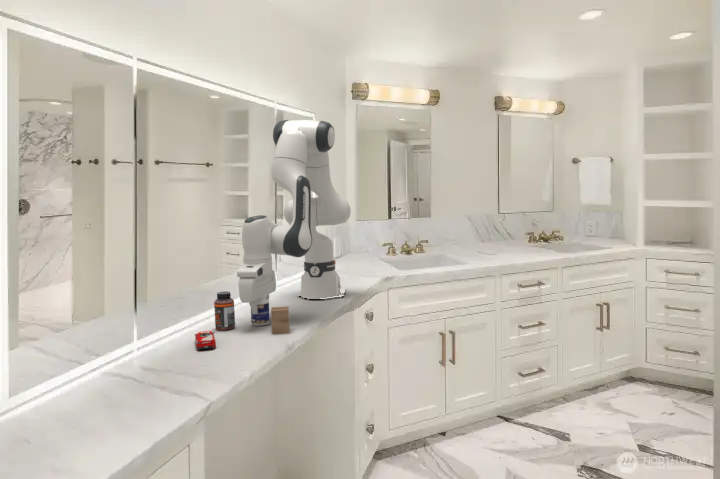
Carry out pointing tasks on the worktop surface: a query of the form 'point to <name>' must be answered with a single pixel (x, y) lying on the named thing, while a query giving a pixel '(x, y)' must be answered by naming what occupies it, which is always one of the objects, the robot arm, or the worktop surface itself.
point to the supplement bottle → (224, 311)
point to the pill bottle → (261, 312)
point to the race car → (205, 340)
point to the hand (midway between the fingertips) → (260, 311)
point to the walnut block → (280, 320)
